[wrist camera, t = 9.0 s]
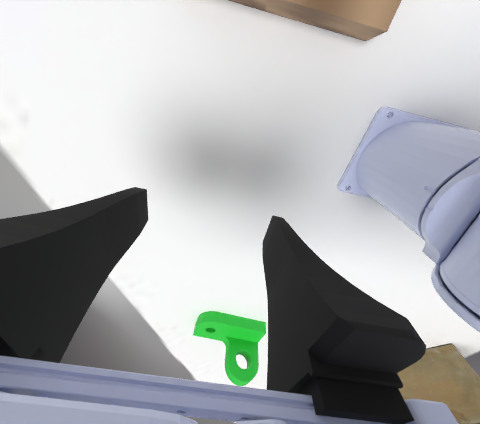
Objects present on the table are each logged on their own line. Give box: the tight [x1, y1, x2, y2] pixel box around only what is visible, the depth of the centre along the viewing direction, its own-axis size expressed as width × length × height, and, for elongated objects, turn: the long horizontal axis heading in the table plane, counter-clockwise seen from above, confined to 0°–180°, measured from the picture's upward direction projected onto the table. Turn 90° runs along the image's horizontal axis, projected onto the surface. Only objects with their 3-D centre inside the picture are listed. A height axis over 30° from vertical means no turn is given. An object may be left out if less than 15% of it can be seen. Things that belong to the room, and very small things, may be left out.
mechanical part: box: [193, 311, 266, 386], centre depth 32 cm, size 12×6×8 cm, turn 72°
